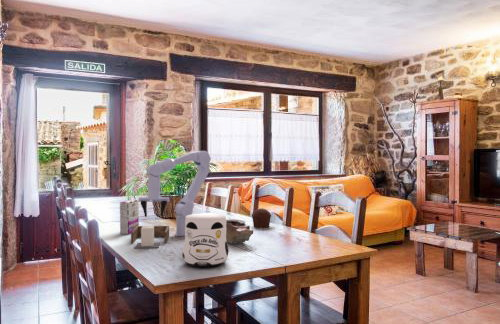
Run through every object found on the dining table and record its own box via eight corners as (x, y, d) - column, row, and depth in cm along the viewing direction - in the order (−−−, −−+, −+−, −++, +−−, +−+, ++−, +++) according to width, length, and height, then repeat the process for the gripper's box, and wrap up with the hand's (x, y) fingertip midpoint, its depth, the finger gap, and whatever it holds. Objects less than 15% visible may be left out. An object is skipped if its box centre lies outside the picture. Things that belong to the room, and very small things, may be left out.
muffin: (274, 227, 222) (274, 210, 222) (256, 229, 218) (256, 211, 218) (265, 224, 233) (266, 207, 233) (248, 225, 229) (248, 208, 229)
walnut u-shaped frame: (169, 235, 199) (169, 225, 199) (166, 243, 183) (166, 232, 183) (136, 236, 197) (136, 226, 197) (131, 243, 181) (131, 232, 181)
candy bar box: (130, 229, 212) (130, 199, 212) (138, 230, 211) (139, 199, 211) (119, 234, 201) (119, 201, 201) (128, 234, 200) (128, 202, 200)
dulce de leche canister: (196, 273, 139) (196, 222, 138) (174, 261, 153) (174, 215, 152) (237, 265, 149) (237, 217, 148) (213, 255, 163) (213, 211, 162)
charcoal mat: (160, 243, 182) (160, 242, 182) (158, 248, 173) (158, 247, 173) (137, 243, 181) (137, 242, 181) (134, 248, 172) (134, 247, 172)
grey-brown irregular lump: (242, 237, 198) (242, 217, 198) (260, 245, 180) (260, 224, 180) (217, 239, 192) (217, 219, 192) (233, 248, 174) (234, 226, 174)
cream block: (154, 243, 180) (154, 225, 180) (152, 246, 175) (152, 228, 175) (142, 243, 179) (142, 226, 179) (141, 246, 174) (141, 228, 174)
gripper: (137, 189, 189) (137, 217, 189) (168, 189, 190) (168, 217, 191) (139, 188, 196) (139, 215, 196) (169, 188, 197) (169, 215, 198)
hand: (153, 216), depth 194 cm, fingers open, 7 cm apart
